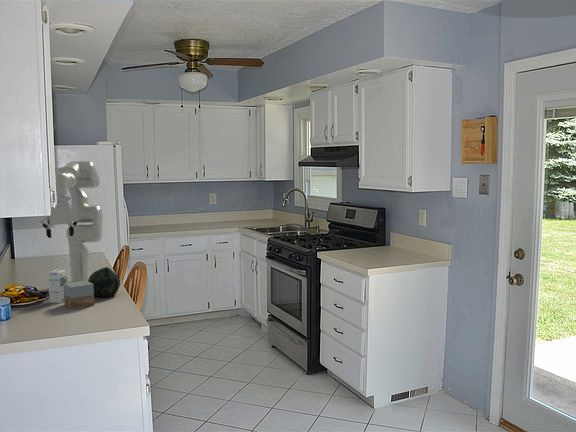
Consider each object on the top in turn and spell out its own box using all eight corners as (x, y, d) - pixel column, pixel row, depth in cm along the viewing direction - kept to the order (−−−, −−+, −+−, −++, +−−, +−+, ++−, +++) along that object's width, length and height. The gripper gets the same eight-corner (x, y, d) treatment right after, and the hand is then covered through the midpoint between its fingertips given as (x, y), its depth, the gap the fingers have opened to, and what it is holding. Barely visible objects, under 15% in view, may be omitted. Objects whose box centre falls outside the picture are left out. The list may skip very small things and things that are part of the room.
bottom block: (64, 305, 239) (64, 294, 238) (87, 301, 245) (86, 291, 244) (71, 309, 231) (70, 298, 230) (94, 305, 237) (93, 294, 237)
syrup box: (60, 303, 241) (59, 271, 240) (49, 302, 243) (47, 271, 241) (68, 300, 247) (66, 269, 246) (57, 299, 248) (55, 269, 247)
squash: (87, 281, 261) (87, 262, 251) (119, 280, 266) (120, 261, 256) (87, 305, 252) (87, 287, 241) (120, 304, 257) (121, 285, 247)
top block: (63, 294, 238) (63, 283, 238) (86, 291, 245) (86, 280, 244) (70, 298, 231) (70, 287, 230) (93, 294, 237) (93, 284, 236)
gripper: (75, 199, 251) (76, 234, 252) (36, 200, 240) (38, 237, 241) (80, 199, 245) (82, 236, 247) (41, 200, 234) (42, 239, 235)
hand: (60, 236), depth 244 cm, fingers open, 9 cm apart
